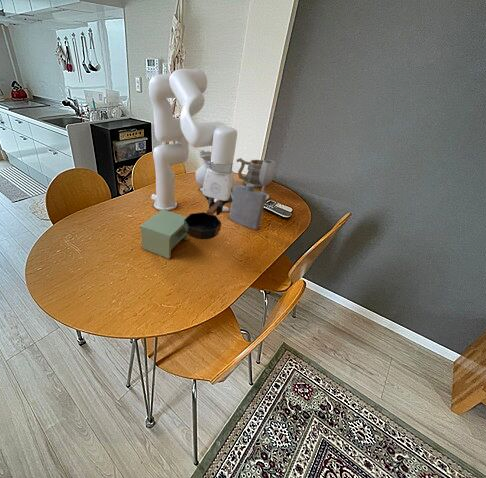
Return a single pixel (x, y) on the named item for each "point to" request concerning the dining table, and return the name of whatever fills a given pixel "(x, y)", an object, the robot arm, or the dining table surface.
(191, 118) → the robot arm
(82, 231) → the dining table surface
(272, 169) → the wineglass
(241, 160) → the tankard
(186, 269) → the dining table surface
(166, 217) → the sage green box
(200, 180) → the ceramic pitcher
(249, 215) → the hip flask
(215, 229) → the pan
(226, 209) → the sitting furry creature
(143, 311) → the dining table surface
